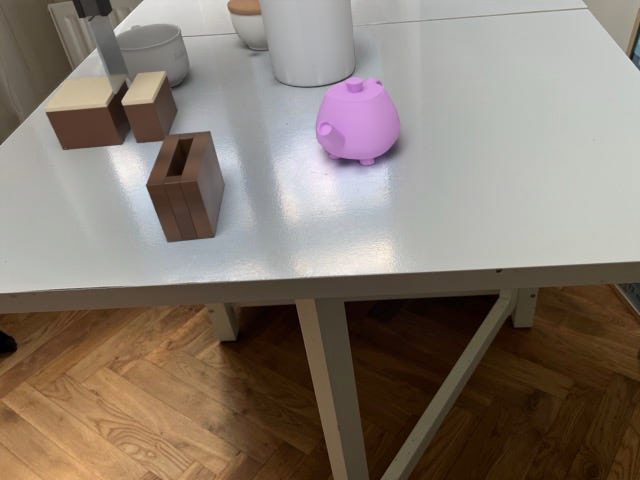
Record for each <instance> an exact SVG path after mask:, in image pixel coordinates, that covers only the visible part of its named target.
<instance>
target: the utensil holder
mask: <svg viewBox="0 0 640 480" xmlns="http://www.w3.org/2000/svg"><path fill="white" fill-rule="evenodd" d="M351 1H352V0H259V5H260V10H261V14H262V19H263V24H264V29H265V34H266V39H267V43H268V48H269V49H268V51H269V57H270V60H271V64H272V69H273V74H274V77H275V79H276V80H277V81H278V82H280V83H281V84H284V85H286V86H292V87H300V88H301V87H303V88H308V87H309V88H310V87H321V86H327V85H331V84H336V83H339V82H341V81H344V80H346V79H348V78H349V77H350V76H352V74H353V73H354V71H355V69H356V59H355V58H356V56H355V38H354V23H353V13H352V2H351Z"/></svg>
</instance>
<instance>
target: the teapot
mask: <svg viewBox="0 0 640 480" xmlns="http://www.w3.org/2000/svg"><path fill="white" fill-rule="evenodd" d="M398 113H399V112H398V111H397V108H396V105H395V103H394V101H393V100H392V98H391V96H390V94H389V93H388V91H387V90H386V89H385V87H384V86H383V83H382V81H381V80H380V79H378V78H377V77H369V78H367V79H366V80H364V79H363V78H362V77H358V76H352V77H347V78H345V79H344V80H342V81H339V82H337V83H335V84H334V85H333V86H331V87H330V88H329V89H328V90H327V91H326V92H325V94H324V96H323V98H322V100H321V103H320V106H319V108H318V112H317V115H316V118H315V138H316V141H317V143H318V144H319V145H320V146H321V148H323V149H324V150H325V151H326V152H327V153H328V157H329V158H330V159H332V160H338V159H341V158H343V159H348V160H359V164H360V165H361V166H371V165H373V164H375V158H379V157H380V156H382V155H383V154H385V153H386V152H388V151H389V150H390V149H391V148H392V146H393V145H394V144H395V142H396V141H397V139H398V138H399V137H400V134H401V120H400V117H399V114H398Z"/></svg>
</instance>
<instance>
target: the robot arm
mask: <svg viewBox="0 0 640 480" xmlns="http://www.w3.org/2000/svg"><path fill="white" fill-rule="evenodd" d="M71 1H72V4H73V6H74V9H75V11H76V14H77V16H78V19H86V18H87V17H86V16H85V14H84V12H83V9H82V6H81V4H80V1H79V0H71ZM95 1H96V3H97V6H98V9H99V12H100V14H101V17H104V16H109V15H110V14H111V13H112V12H113V10H114V9H113V6H112V4H111V0H95Z"/></svg>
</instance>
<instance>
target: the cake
mask: <svg viewBox="0 0 640 480" xmlns="http://www.w3.org/2000/svg"><path fill="white" fill-rule="evenodd" d="M128 89H129V86H128V83H127V79H126V80H125V81H124V83H123V85H122V86H121V88H120V89H119V91H118V93H117V94H114V93H113V90H112V87H111V85H110V82H109V79H108V77H107V75H101V76H90V77H79V78H78V77H77V78H76V77H75V78H68V79H66V80H65V81H64V83H63V84H62V85H61V86H60V87H59V88H58V90H57V91H56V92H55V94H54V95H53V96H52V97H51V98H50V100H48V101H47V103H46V104H45V105H44V107H43V110H44V112H45V115H46V117H47V119H48V122H49V124H50V125H51V128H52V130H53V131H54V134H55V136H56V138H57V140H58V142H59V145H60V146H61V149H62V150H63V151H64V150H68V149H67V148H71V149H70V150H74V149H75V150H76V149H85V148H87V149H88V148H96V147H97V148H98V147H108V146H119V145H123V143H124V141H125V139H126V137H127V135H128V133H129V131H130V129H131V126H130V123H129V121H128V118H127V115H126V113H125V110H124V107H123V105H122V102H121V101H122V99H123V98H124V96H125V94H126V93H127V91H128ZM65 148H66V149H65Z"/></svg>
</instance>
